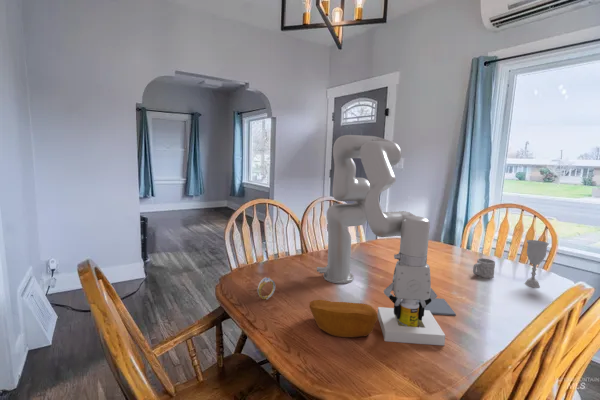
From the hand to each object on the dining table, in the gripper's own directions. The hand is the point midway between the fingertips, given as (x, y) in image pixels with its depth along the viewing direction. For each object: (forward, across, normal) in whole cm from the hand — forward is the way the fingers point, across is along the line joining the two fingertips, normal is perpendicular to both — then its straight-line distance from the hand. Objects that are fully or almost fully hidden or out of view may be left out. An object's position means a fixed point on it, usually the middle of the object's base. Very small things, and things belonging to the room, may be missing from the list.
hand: (408, 316), depth 93 cm
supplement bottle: (+4, 0, 0) cm, 4 cm away
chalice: (+4, +59, +41) cm, 72 cm away
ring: (+5, -46, +14) cm, 48 cm away
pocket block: (+4, 0, 0) cm, 4 cm away
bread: (+4, -20, -1) cm, 20 cm away
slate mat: (+4, +12, +16) cm, 20 cm away
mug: (+4, +43, +49) cm, 65 cm away
